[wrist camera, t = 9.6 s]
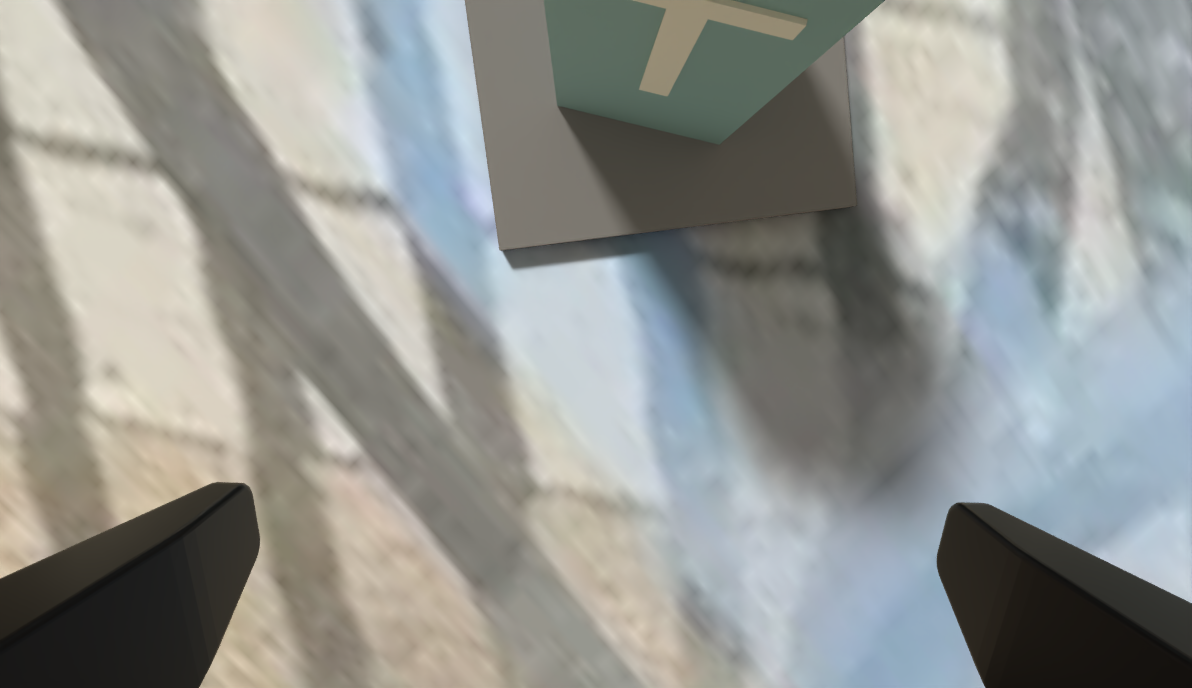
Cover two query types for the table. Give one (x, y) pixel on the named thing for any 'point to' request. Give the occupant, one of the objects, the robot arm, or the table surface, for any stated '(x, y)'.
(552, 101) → the mat
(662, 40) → the block
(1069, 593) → the robot arm
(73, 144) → the table surface
